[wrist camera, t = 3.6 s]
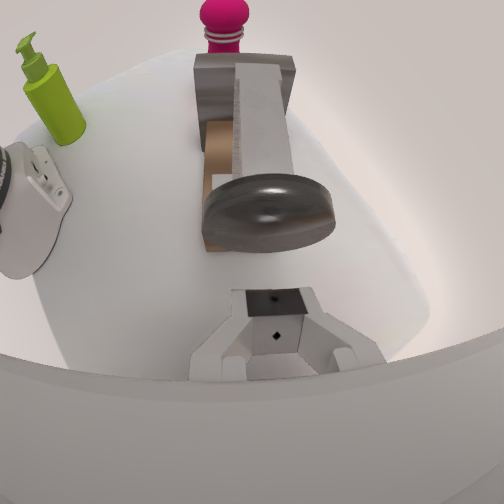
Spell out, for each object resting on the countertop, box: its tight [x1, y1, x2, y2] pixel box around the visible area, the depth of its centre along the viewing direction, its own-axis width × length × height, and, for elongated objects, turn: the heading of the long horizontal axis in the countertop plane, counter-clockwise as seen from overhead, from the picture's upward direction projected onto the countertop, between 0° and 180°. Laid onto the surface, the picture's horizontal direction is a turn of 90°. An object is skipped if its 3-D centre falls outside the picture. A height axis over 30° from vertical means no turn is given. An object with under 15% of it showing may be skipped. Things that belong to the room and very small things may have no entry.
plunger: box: [202, 63, 336, 253], centre depth 19 cm, size 11×8×20 cm
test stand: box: [193, 53, 296, 252], centre depth 28 cm, size 17×10×14 cm, turn 2°
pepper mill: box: [200, 0, 249, 53], centre depth 30 cm, size 7×7×20 cm
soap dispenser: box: [16, 32, 86, 146], centre depth 27 cm, size 6×7×20 cm
